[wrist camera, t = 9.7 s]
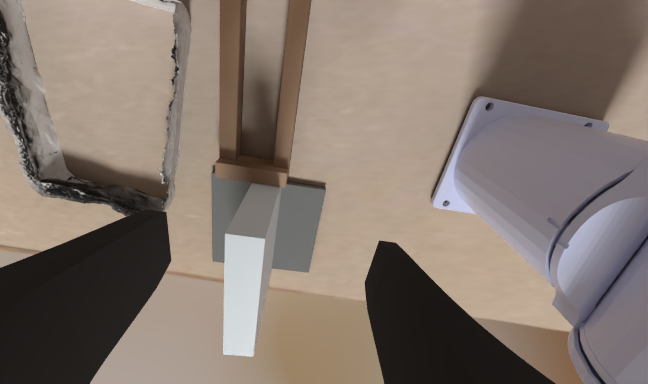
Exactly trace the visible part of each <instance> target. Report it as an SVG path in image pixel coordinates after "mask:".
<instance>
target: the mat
mask: <svg viewBox="0 0 648 384" xmlns="http://www.w3.org/2000/svg"><path fill="white" fill-rule="evenodd" d="M251 184H252V183H250V182H244V181H237V180H230V179H224V178H217V177H215V171H213V172H212V251H213V261H215V262H223V263H225V233H226V231H227V229H228V227H229V225H230V223H231V221H232V219H233V218H234V216H235V214H236V212H237V210H238V208H239V206H240V204H241V203H242V201H243V199H244V197H245V195H246V193H247V191H248V189H249V187H250V186H251ZM325 191H326V188H324V187H318V186H311V185H305V184H298V183H292V182H287V183H286V187H285V188H283V187H282V189H281V197H280V205H279V213H278V221H277V230H276V238H275V246H274V254H273V263H272V268H274V269H283V270H291V271H300V272H308V273H309V268H310V263H311V259H312V254H313V249H314V244H315V239H316V234H317V230H318V225H319V220H320V215H321V210H322V206H323V201H324V196H325Z"/></svg>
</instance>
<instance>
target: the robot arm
mask: <svg viewBox="0 0 648 384" xmlns="http://www.w3.org/2000/svg"><path fill="white" fill-rule="evenodd" d="M488 103H490V107H489V109H487V110H486V109H485V108H486V105H487V104H488ZM586 124H587V125H586ZM585 125H586V126H585ZM608 128H609V124H608V122H606V121H601V120H596V119H591V118H586V117H582V116H577V115H572V114H567V113H562V112H557V111H552V110H547V109H542V108H538V107H533V106H528V105H523V104H518V103H513V102H508V101H503V100H499V99H494V98H489V97H484V96H479V97H477V98H476V99H474V101H473V102H472V104H471V107H470V109H469V111H468V114H467V116H466V118H465V121H464V123H463V126H462V128H461V130H460V133H459V135H458V138H457V140H456V142H455V145H454V147H453V149H452V152H451V154H450V157H449V159H448V161H447V164H446V166H445V169H444V171H443V173H442V176H441V178H440V180H439V183H438V185H437V188H436V190H435V192H434V195H433V197H432V200H431V203H432V205H433V206H434V207H436V208H440V209H447V210H454V211H460V212H467V213H473V214H477V215H478V216H479V217H480V218H482V219H483V220H484V221H485V222H486V223H487V224H488V225H489V226H490V227H491V228H492V229H493V230H494V231H495V232H496V233H497V234H498V235H499V236H501V237H502V238H503V239H504V240H505V241H506V242H507V243H508V244H509V245H510V246H511V247H512V248H513V249H514V250H515V251H516V252H517V253H518V254H520V255H521V256H522V257H523V258H524V259H525V260H526V261H527V262H528V263H529V264H530V265H531V266H532V267H533V268H534V269H535V270H536V271H537V272H539V273H540V274H541V275H542V276H543V277H544V278H545V279H546V280H547V281H548V282H549V283H550V284H551V285H552V286H553V287H555V290H556V295H555V299H554V300H553V302H552V305H553V306H554V307H555V308H556V309H557V310H558V311H559V312H560V313H561V314H562V315H563V316H564V318H565V319H566V320H567V321H568V322H569V323H570V324H571V325H572V326H573V328H572V330H571V332H570V333H569V337H568V349H569V355H570V357H571V360H572V362H573V364H574V367H575V369H576V371H577V373H578V374H579V376H580V378H581V380H582V381H583V382H584V384H648V141H645V140H641V139H636V138H632V137H628V136H624V135H620V134H616V133H611V132H607V130H608ZM446 200H447V202H446V203H445V204H443V202H444V201H446ZM170 262H171V253H170V244H169V234H168V225H167V215H166V212H163V211H156V210H148V209H146V210H143V211H140V212H137V213H135V214H132V215H130V216H127V217H125V218H122V219H120V220H118V221H115V222H113V223H111V224H108V225H106V226H104V227H101V228H99V229H96V230H94V231H92V232H89V233H87V234H85V235H82V236H80V237H78V238H75V239H73V240H70V241H68V242H66V243H63V244H61V245H58V246H56V247H53V248H50V249H48V250H45V251H43V252H40V253H38V254H35V255H33V256H30V257H27V258H25V259H23V260H20V261H17V262H15V263H12V264H9V265H7V266H4V267H1V268H0V384H90V382H91V380H92V379H93V377H94V376H95V374H96V373H97V371H98V370H99V368H100V367H101V365H102V364H103V362H104V361H105V359H106V358H107V357H108V355H109V354H110V352H111V351H112V350H113V348H114V347H115V345H116V344H117V343H118V341H119V340H120V338H121V337H122V336H123V334H124V333H125V331H126V330H127V329H128V327H129V326H130V324H131V323H132V322H133V320H134V319H135V318H136V316H137V315H138V313H139V312H140V311H141V309H142V308H143V306H144V305H145V304H146V302H147V301H148V299H149V298H150V297H151V295H152V293H153V292H154V291H155V289H156V288H157V286H158V284H159V282H160V281H161V279H162V277H163V275H164V273H165V271H166V269H167V268H168V266H169V264H170ZM365 291H366V301H367V309H368V314H369V319H370V323H371V328H372V332H373V337H374V341H375V345H376V349H377V354H378V357H379V362H380V366H381V370H382V375H383V379H384V384H555V383H554V382H552V381H551V380H550V379H548V378H547V377H546V376H544V375H543V374H542V373H540V372H539V371H537V370H536V369H535V368H533V367H532V366H531V365H529V364H528V363H527V362H525V361H524V360H523V359H521V358H520V357H519V356H517V355H516V354H515V353H514V352H512V351H511V350H510V349H508V348H507V347H506V346H505V345H504V344H503V343H501V342H500V341H499V340H498V339H496V338H495V337H494V336H493V335H492V334H490V333H489V332H488V331H487V330H485V329H484V328H483V327H482V326H481V325H480V324H478V323H477V322H476V321H475V320H474V319H473V318H472V317H471V316H470V315H468V314H467V313H466V312H465V311H464V310H463V309H462V308H461V307H460V306H459V305H458V304H457V303H455V302H454V301H453V300H452V299H451V298H450V297H449V296H448V295H447V294H446V293H445V292H444V291H443V290H442V289H441V288H440V287H439V286H438V285H437V284H436V283H435V282H434V281H433V280H432V279H431V278H430V277H429V276H428V275H427V274H426V273H425V272H424V271H423V270H422V269H421V268H420V267H419V266H418V265H417V264H416V263H415V262H414V260H413V259H412V258H411V257H410V256H409V255H408V254H407V253H406V252H405V251H404V250H403V249H402V248H401V247H400V246H399V245H398V244H397V243H393V242H386V241H379V243H378V246H377V249H376V252H375V254H374V257H373V260H372V263H371V266H370V269H369V272H368V275H367V278H366V281H365Z"/></svg>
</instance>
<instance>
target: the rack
mask: <svg viewBox="0 0 648 384" xmlns="http://www.w3.org/2000/svg"><path fill="white" fill-rule="evenodd" d="M246 4H247V0H220V158H219V159H218V160H217V161H216V162H215V177H217V178H224V179H230V180H237V181H244V182H250V183H257V184H263V185H270V186H277V187H283V188H285V187H286V183H287V179H288V174H289V167H290V159H291V151H292V144H293V136H294V129H295V121H296V113H297V106H298V98H299V90H300V83H301V75H302V68H303V60H304V52H305V45H306V37H307V30H308V22H309V14H310V7H311V0H290V4H289V14H288V24H287V34H286V44H285V53H284V63H283V73H282V83H281V93H280V103H279V113H278V123H277V133H276V142H275V152H274V160H271V159H265V158H259V157H252V156H246V155H240V153H241V129H242V104H243V79H244V54H245V29H246Z"/></svg>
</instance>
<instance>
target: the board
mask: <svg viewBox="0 0 648 384" xmlns="http://www.w3.org/2000/svg"><path fill="white" fill-rule="evenodd" d="M281 189H282V187H277V186H270V185H263V184H257V183H252V184H251V186H250V187H249V189H248V191H247V193H246V195H245V197H244V199H243V201H242V203H241V204H240V206H239V208H238V210H237V212H236V214H235V216H234V218H233V219H232V221H231V223H230V225H229V227H228V229H227V231H226V233H225V263H224V335H223V336H224V337H223V354H226V355H238V356H252V357H253V356H254V351H255V346H256V342H257V337H258V333H259V328H260V323H261V319H262V314H263V309H264V304H265V300H266V295H267V290H268V286H269V281H270V276H271V271H272V263H273V254H274V246H275V238H276V230H277V221H278V213H279V205H280V197H281Z"/></svg>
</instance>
